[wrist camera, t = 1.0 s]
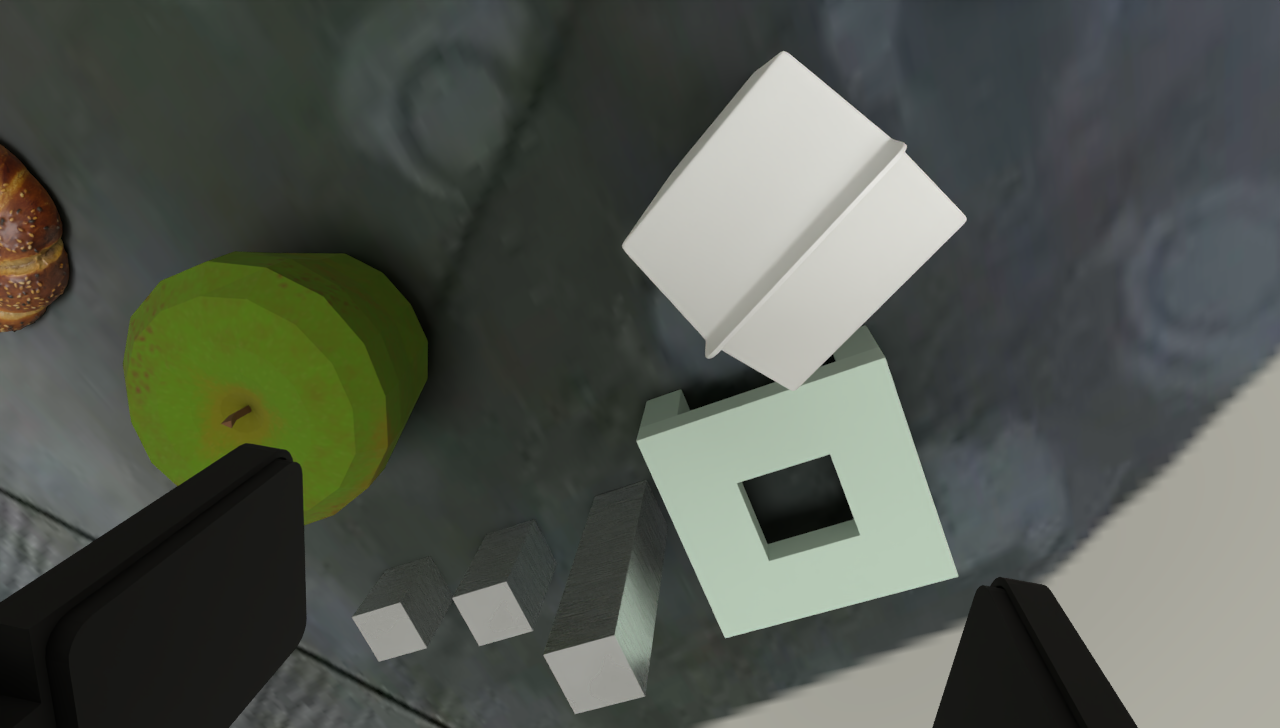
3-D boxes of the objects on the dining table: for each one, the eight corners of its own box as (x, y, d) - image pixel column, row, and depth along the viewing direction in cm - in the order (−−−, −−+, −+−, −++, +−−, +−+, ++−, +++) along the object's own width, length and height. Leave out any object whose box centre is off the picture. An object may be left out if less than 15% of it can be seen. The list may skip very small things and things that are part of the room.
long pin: (616, 542, 44) (575, 713, 32) (594, 496, 43) (543, 654, 31) (667, 526, 43) (645, 696, 31) (646, 479, 42) (614, 635, 30)
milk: (849, 156, 36) (1028, 246, 15) (761, 253, 38) (811, 451, 17) (752, 68, 35) (799, 34, 14) (667, 172, 37) (599, 277, 16)
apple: (279, 185, 39) (112, 219, 28) (491, 296, 40) (406, 370, 29) (215, 382, 43) (50, 476, 33) (408, 479, 44) (308, 601, 34)
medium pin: (509, 577, 46) (479, 646, 40) (486, 534, 45) (452, 597, 39) (557, 563, 45) (532, 630, 39) (534, 518, 44) (506, 581, 38)
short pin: (410, 611, 47) (379, 661, 43) (386, 569, 47) (351, 617, 42) (454, 597, 47) (427, 647, 42) (430, 555, 46) (400, 602, 42)
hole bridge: (725, 580, 44) (724, 638, 39) (646, 401, 41) (636, 441, 36) (932, 521, 41) (958, 576, 37) (865, 325, 38) (885, 357, 33)
